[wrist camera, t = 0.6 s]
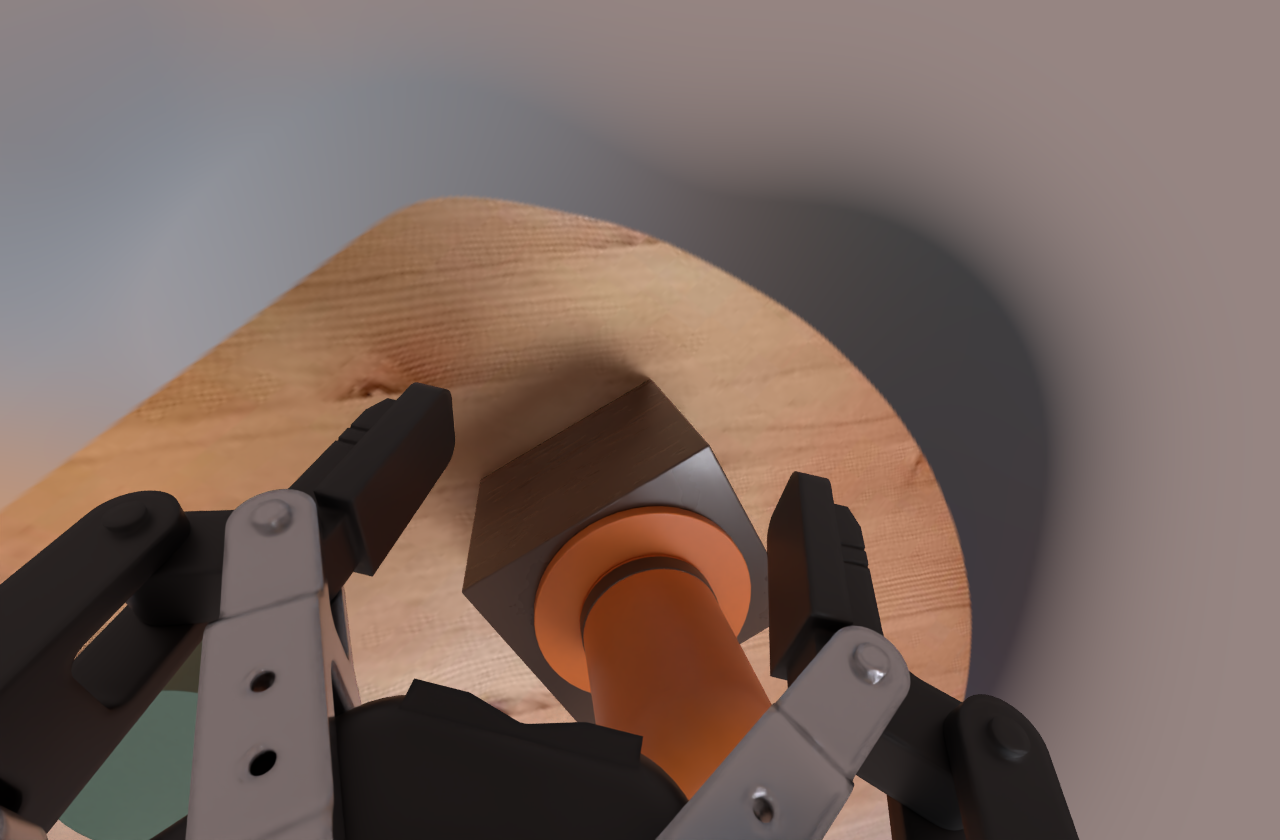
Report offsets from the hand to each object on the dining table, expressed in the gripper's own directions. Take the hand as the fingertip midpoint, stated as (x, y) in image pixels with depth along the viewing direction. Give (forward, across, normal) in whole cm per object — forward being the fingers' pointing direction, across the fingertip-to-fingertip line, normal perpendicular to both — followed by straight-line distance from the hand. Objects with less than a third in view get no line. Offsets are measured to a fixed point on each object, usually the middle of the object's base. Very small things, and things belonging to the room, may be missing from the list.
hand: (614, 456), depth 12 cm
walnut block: (+12, +1, +15) cm, 19 cm away
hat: (+4, -2, +11) cm, 12 cm away
